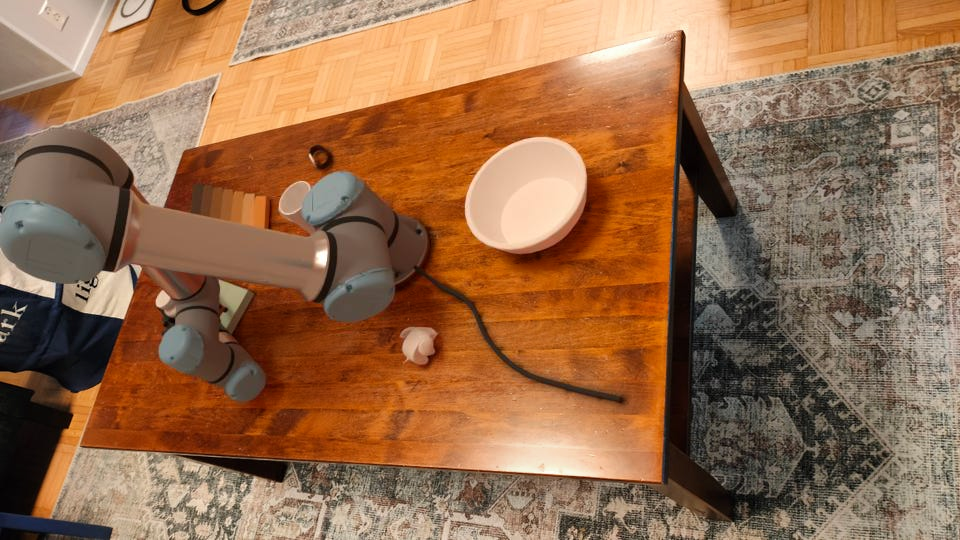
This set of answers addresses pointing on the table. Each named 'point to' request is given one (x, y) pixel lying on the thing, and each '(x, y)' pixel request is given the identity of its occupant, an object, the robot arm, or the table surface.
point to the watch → (312, 151)
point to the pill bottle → (166, 304)
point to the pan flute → (230, 205)
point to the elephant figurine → (418, 343)
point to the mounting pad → (233, 304)
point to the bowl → (527, 195)
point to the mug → (295, 204)
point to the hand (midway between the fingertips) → (172, 296)
